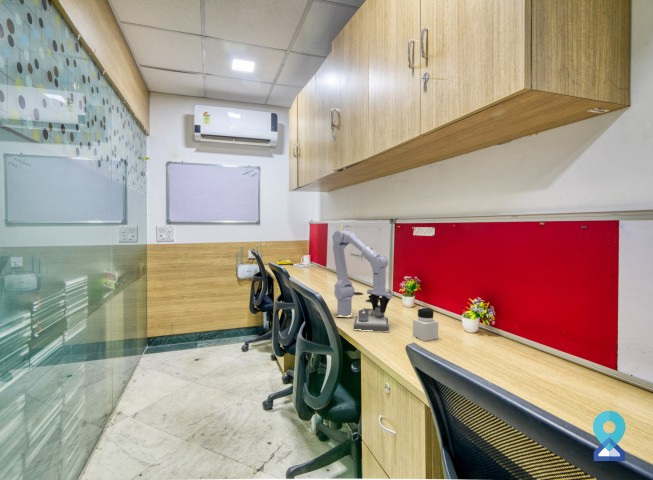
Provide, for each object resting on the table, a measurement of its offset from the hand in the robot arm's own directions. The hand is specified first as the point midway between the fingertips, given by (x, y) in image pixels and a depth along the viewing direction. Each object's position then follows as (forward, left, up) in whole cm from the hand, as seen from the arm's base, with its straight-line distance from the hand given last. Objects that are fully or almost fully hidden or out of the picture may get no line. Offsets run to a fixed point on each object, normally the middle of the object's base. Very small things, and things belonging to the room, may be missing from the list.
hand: (379, 311), depth 146 cm
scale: (+4, -3, -6) cm, 8 cm away
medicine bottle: (+16, +19, -6) cm, 25 cm away
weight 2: (0, 0, -2) cm, 2 cm away
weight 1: (+6, -7, -3) cm, 10 cm away
